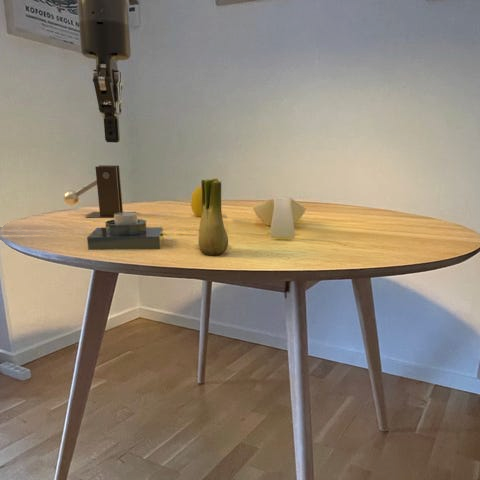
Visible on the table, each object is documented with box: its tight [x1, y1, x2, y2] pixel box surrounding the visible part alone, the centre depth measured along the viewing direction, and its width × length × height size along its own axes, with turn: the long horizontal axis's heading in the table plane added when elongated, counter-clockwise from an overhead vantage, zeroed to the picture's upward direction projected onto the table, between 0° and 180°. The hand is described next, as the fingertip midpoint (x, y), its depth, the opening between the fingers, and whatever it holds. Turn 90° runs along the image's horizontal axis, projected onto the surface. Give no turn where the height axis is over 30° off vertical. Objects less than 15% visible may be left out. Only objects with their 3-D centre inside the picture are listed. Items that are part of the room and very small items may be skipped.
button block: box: [86, 218, 164, 251], centre depth 83 cm, size 12×9×4 cm
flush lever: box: [63, 166, 111, 206], centre depth 105 cm, size 13×3×3 cm, turn 96°
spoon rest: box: [252, 197, 307, 239], centre depth 98 cm, size 24×12×7 cm, turn 179°
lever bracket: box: [85, 164, 137, 219], centre depth 106 cm, size 10×8×12 cm
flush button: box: [113, 211, 139, 224], centre depth 82 cm, size 4×4×2 cm
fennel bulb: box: [197, 178, 229, 256], centre depth 75 cm, size 6×5×12 cm
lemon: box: [190, 184, 202, 218], centre depth 107 cm, size 6×6×8 cm
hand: (112, 142), depth 79 cm, fingers closed
